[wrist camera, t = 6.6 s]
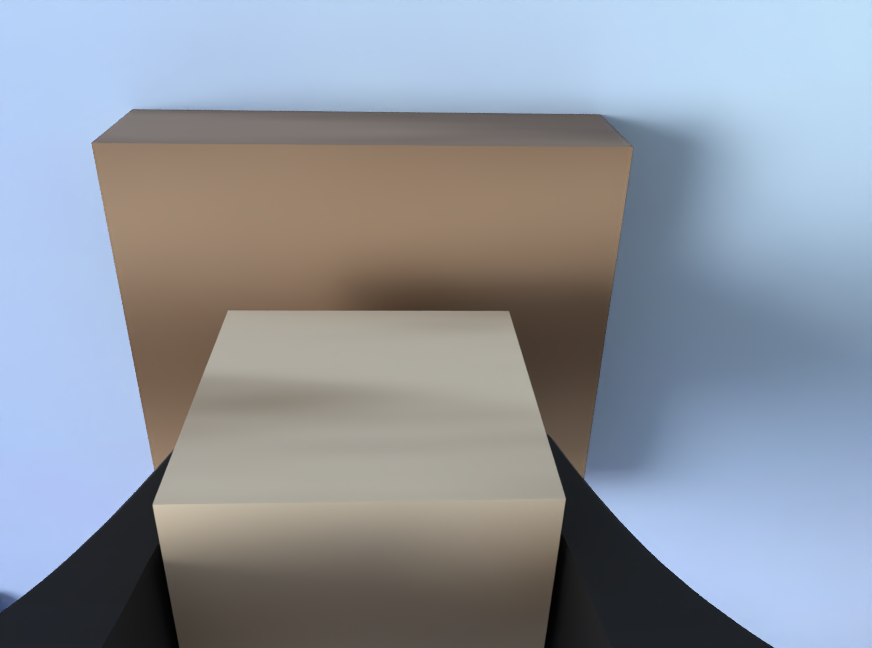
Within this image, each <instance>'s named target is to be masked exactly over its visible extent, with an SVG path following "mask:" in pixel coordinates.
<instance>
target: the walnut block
mask: <svg viewBox="0 0 872 648" xmlns="http://www.w3.org/2000/svg"><path fill="white" fill-rule="evenodd" d="M92 148H93V154H94V159H95V164H96V169H97V174H98V180H99V185H100V190H101V195H102V200H103V205H104V211H105V216H106V221H107V226H108V231H109V237H110V242H111V247H112V252H113V257H114V263H115V268H116V273H117V278H118V283H119V289H120V294H121V299H122V304H123V309H124V314H125V320H126V325H127V330H128V335H129V340H130V346H131V351H132V356H133V361H134V366H135V372H136V377H137V382H138V387H139V392H140V397H141V403H142V408H143V413H144V418H145V423H146V429H147V434H148V439H149V444H150V449H151V455H152V460H153V465H154V470H156V469H157V467H158V466H159V465H160V464H161V463H162V462H163V461H164V459H165V458H166V457H167V456H168V455H169V454H170V453H171V451H172V450H173V449H174V448H175V445H176V443H177V440H178V438H179V435H180V433H181V430H182V427H183V425H184V422H185V420H186V417H187V415H188V412H189V409H190V407H191V404H192V402H193V399H194V397H195V394H196V391H197V389H198V386H199V384H200V381H201V379H202V376H203V373H204V371H205V368H206V366H207V363H208V361H209V358H210V355H211V353H212V350H213V348H214V345H215V343H216V340H217V337H218V335H219V332H220V330H221V327H222V325H223V322H224V319H225V317H226V314H227V312H228V310H246V311H509V313H510V316H511V319H512V323H513V326H514V329H515V332H516V336H517V339H518V342H519V346H520V349H521V352H522V356H523V359H524V362H525V366H526V369H527V372H528V375H529V379H530V382H531V385H532V389H533V392H534V395H535V399H536V402H537V405H538V408H539V412H540V415H541V418H542V422H543V425H544V428H545V432H546V434H548V435H549V436H550V437H551V438H552V439H553V440H554V441H555V443H556V444H557V445H558V447H559V448H560V449H561V451H562V452H563V453H564V455H565V456H566V457H567V459H568V460H569V461H570V462H571V464H572V465H573V466H574V468H575V469H576V470H577V471H578V473H579V474H580V475H581V476H582V478H583V479H584V474H585V467H586V461H587V454H588V447H589V441H590V434H591V427H592V420H593V414H594V407H595V400H596V394H597V387H598V380H599V374H600V367H601V360H602V354H603V347H604V340H605V334H606V327H607V320H608V313H609V307H610V300H611V293H612V287H613V280H614V273H615V267H616V260H617V253H618V247H619V240H620V233H621V227H622V220H623V213H624V207H625V200H626V193H627V186H628V180H629V173H630V166H631V160H632V153H633V146H632V145H631V144H630V143H629V142H628V141H627V140H626V139H625V138H623V137H622V136H621V135H620V134H619V133H618V132H617V131H616V130H615V129H614V128H613V127H612V126H611V125H610V124H609V123H608V122H607V121H606V120H605V119H604V118H603V117H602V116H601V115H600V114H508V113H416V112H324V111H232V110H140V109H132V110H131V111H130V112H129V113H127V114H126V115H125V116H124V117H123V118H121V119H120V120H119V121H118V122H116V123H115V124H114V125H113V126H112V127H110V128H109V129H108V130H107V131H105V132H104V133H103V134H102V135H101V136H99V137H98V138H97V139H96V140H94V141H93V142H92Z"/></svg>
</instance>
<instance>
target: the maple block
mask: <svg viewBox="0 0 872 648" xmlns="http://www.w3.org/2000/svg"><path fill="white" fill-rule="evenodd" d="M565 501H566V498H565V494H564V491H563V488H562V484H561V481H560V478H559V475H558V471H557V468H556V465H555V461H554V458H553V455H552V451H551V448H550V445H549V442H548V438H547V435H546V432H545V428H544V425H543V422H542V418H541V415H540V412H539V408H538V405H537V402H536V399H535V395H534V392H533V389H532V385H531V382H530V379H529V375H528V372H527V369H526V366H525V362H524V359H523V356H522V352H521V349H520V346H519V342H518V339H517V336H516V332H515V329H514V326H513V323H512V319H511V316H510V313H509V311H246V310H228V312H227V314H226V317H225V319H224V322H223V325H222V327H221V330H220V332H219V335H218V337H217V340H216V343H215V345H214V348H213V350H212V353H211V355H210V358H209V361H208V363H207V366H206V368H205V371H204V373H203V376H202V379H201V381H200V384H199V386H198V389H197V391H196V394H195V397H194V399H193V402H192V404H191V407H190V409H189V412H188V415H187V417H186V420H185V422H184V425H183V427H182V430H181V433H180V435H179V438H178V440H177V443H176V445H175V448H174V451H173V453H172V456H171V458H170V461H169V463H168V466H167V469H166V471H165V474H164V476H163V479H162V481H161V484H160V487H159V489H158V492H157V494H156V497H155V499H154V502H153V510H154V516H155V521H156V526H157V532H158V537H159V542H160V547H161V553H162V558H163V563H164V569H165V574H166V579H167V584H168V590H169V595H170V600H171V606H172V611H173V616H174V621H175V627H176V632H177V637H178V643H179V648H544V644H545V637H546V630H547V624H548V617H549V610H550V603H551V596H552V589H553V583H554V576H555V569H556V562H557V555H558V549H559V542H560V535H561V528H562V521H563V515H564V508H565Z"/></svg>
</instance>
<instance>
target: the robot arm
mask: <svg viewBox="0 0 872 648" xmlns="http://www.w3.org/2000/svg"><path fill="white" fill-rule="evenodd" d="M546 435H547V438H548V442H549V445H550V448H551V451H552V455H553V458H554V461H555V465H556V468H557V471H558V475H559V478H560V481H561V484H562V488H563V491H564V494H565V498H566V501H565V508H564V515H563V521H562V528H561V535H560V542H559V549H558V555H557V562H556V569H555V576H554V583H553V589H552V596H551V603H550V610H549V617H548V624H547V630H546V637H545V644H544V648H774V647H772V646H771V645H769V644H767V643H766V642H764V641H763V640H761V639H760V638H758V637H757V636H755V635H754V634H752V633H751V632H749V631H748V630H746V629H745V628H743V627H742V626H740V625H739V624H738V623H736V622H735V621H734V620H732V619H731V618H729V617H728V616H727V615H725V614H724V613H723V612H721V611H720V610H719V609H717V608H716V607H714V606H713V605H712V604H710V603H709V602H708V601H706V600H705V599H704V598H703V597H701V596H700V595H699V594H698V593H696V592H695V591H694V590H692V589H691V588H690V587H689V586H688V585H686V584H685V583H684V582H683V581H682V580H681V579H680V578H678V577H677V576H676V575H675V574H674V573H673V572H671V571H670V570H669V569H668V568H667V567H666V566H664V565H663V564H662V563H661V562H660V561H659V560H658V559H657V558H656V557H655V556H654V555H653V554H652V553H651V552H649V551H648V550H647V549H646V548H645V547H644V546H643V545H642V544H641V543H640V542H639V540H638V539H637V538H636V537H635V536H634V535H633V534H632V533H631V532H630V531H629V530H628V529H627V528H626V527H625V526H624V525H623V524H622V523H621V522H620V521H619V520H618V518H617V517H616V516H615V515H614V514H613V513H612V512H611V511H610V509H609V508H608V507H607V506H606V505H605V504H604V503H603V501H602V500H601V499H600V498H599V497H598V496H597V495H596V493H595V492H594V491H593V490H592V489H591V487H590V486H589V485H588V484H587V483H586V481H585V480H584V479H583V478H582V476H581V475H580V474H579V473H578V471H577V470H576V469H575V468H574V466H573V465H572V464H571V462H570V461H569V460H568V459H567V457H566V456H565V455H564V453H563V452H562V451H561V449H560V448H559V447H558V445H557V444H556V443H555V441H554V440H553V439H552V438H551V437H550V436H549V435H548V434H546ZM173 451H174V449H173V450H172V451H171V453H170V454H169V455H168V456H167V457H166V458H165V459H164V461H163V462H162V463H161V464H160V465H159V466H158V467H157V469H156V470H155V471H154V472H153V473H152V474H151V475H150V476H149V477H148V479H147V480H146V481H145V482H144V483H143V484H142V485H141V486H140V487H139V488H138V490H137V491H136V492H135V493H134V494H133V495H132V496H131V497H130V498H129V499H128V500H127V501H126V502H125V503H124V504H123V505H122V506H121V507H120V508H119V510H118V511H117V512H116V513H115V514H114V515H113V516H112V517H111V518H110V519H109V520H108V521H107V522H106V523H105V524H104V525H103V526H102V527H101V528H100V529H99V530H98V531H97V532H96V533H95V534H93V535H92V536H91V537H90V538H89V539H88V540H87V541H86V542H85V543H84V544H83V545H82V546H81V547H80V548H79V549H78V550H77V551H76V552H74V553H73V554H72V555H71V556H70V557H69V558H68V559H67V560H66V561H65V562H63V563H62V564H61V565H60V566H59V567H58V568H57V569H55V570H54V571H53V572H52V573H51V574H50V575H48V576H47V577H46V578H45V579H44V580H43V581H41V582H40V583H39V584H38V585H36V586H35V587H34V588H33V589H31V590H30V591H29V592H28V593H26V594H25V595H24V596H23V597H21V598H20V599H19V600H17V601H16V602H15V603H13V604H12V605H11V606H9V607H8V608H6V609H5V610H4V611H2V612H1V613H0V648H179V643H178V637H177V632H176V627H175V621H174V616H173V611H172V606H171V600H170V595H169V590H168V584H167V579H166V574H165V569H164V563H163V558H162V553H161V547H160V542H159V537H158V532H157V526H156V521H155V516H154V510H153V502H154V499H155V497H156V494H157V492H158V489H159V487H160V484H161V481H162V479H163V476H164V474H165V471H166V469H167V466H168V463H169V461H170V458H171V456H172V453H173Z"/></svg>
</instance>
